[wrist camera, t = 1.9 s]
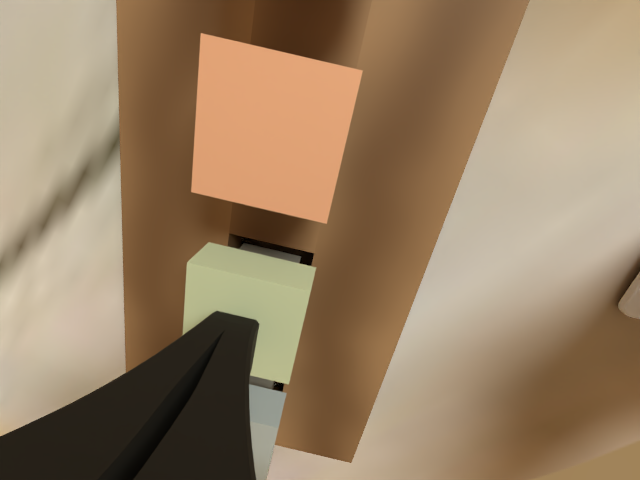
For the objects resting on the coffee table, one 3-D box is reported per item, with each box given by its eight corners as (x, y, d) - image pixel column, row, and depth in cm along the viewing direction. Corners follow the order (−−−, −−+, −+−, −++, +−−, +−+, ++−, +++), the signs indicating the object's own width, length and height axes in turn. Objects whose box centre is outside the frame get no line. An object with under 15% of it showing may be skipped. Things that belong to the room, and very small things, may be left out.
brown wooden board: (569, -175, 9) (623, -245, 7) (351, 428, 19) (351, 462, 17) (155, -268, 9) (106, -362, 7) (149, 379, 19) (127, 409, 17)
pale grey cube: (294, 358, 15) (278, 427, 12) (281, 414, 17) (263, 490, 14) (215, 340, 15) (178, 404, 12) (209, 397, 17) (174, 468, 14)
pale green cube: (321, 245, 13) (310, 291, 10) (303, 321, 15) (288, 384, 11) (229, 223, 13) (186, 262, 10) (220, 301, 15) (181, 359, 11)
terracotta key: (359, 82, 11) (363, 70, 7) (333, 192, 12) (326, 223, 9) (247, 56, 11) (200, 32, 7) (235, 169, 12) (191, 192, 9)
